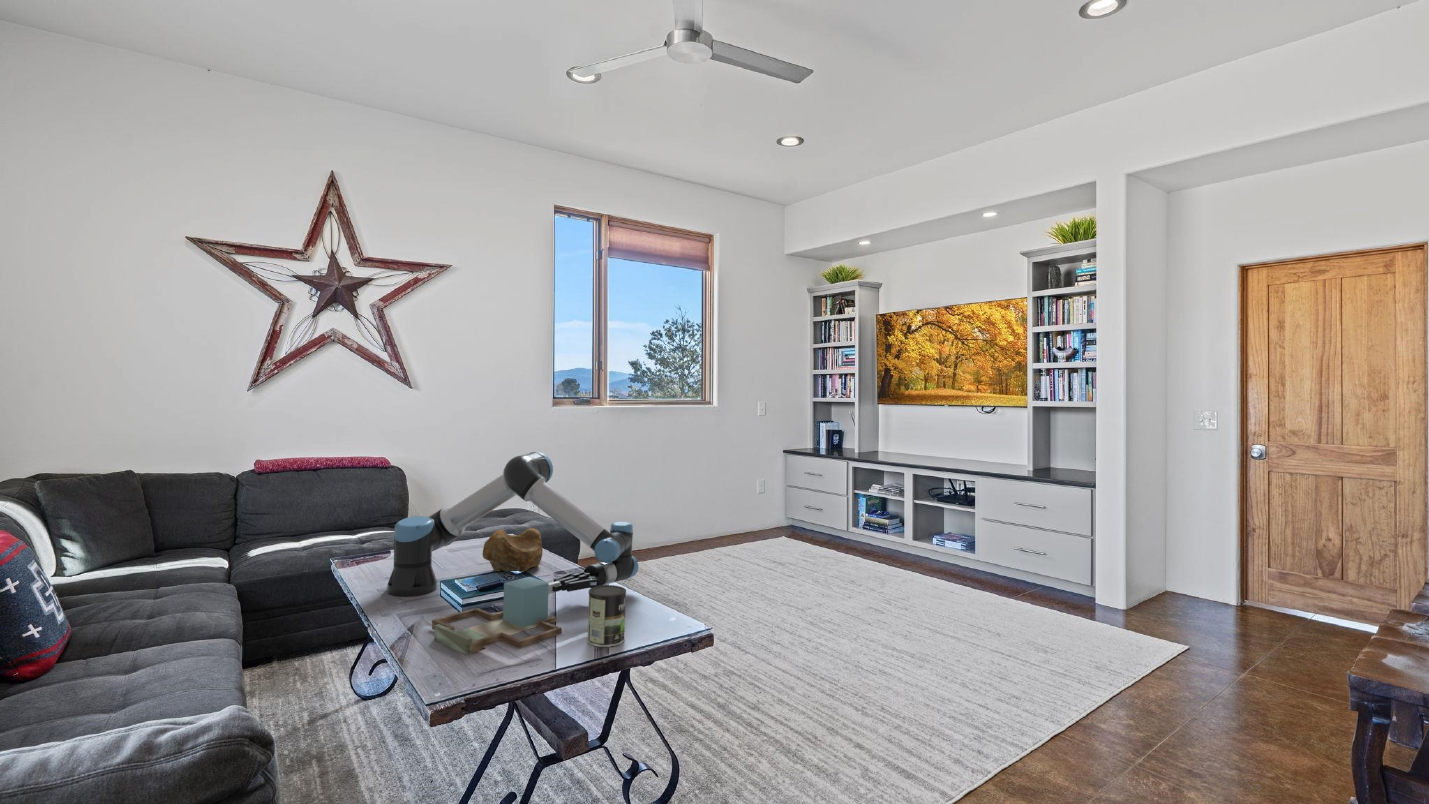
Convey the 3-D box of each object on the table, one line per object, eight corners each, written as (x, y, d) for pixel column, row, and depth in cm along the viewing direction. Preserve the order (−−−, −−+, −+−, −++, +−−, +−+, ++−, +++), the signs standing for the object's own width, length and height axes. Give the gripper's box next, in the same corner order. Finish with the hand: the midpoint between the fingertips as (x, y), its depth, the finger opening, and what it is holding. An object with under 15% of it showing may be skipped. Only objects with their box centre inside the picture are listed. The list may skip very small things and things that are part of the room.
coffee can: (627, 634, 194) (628, 585, 194) (621, 648, 184) (623, 596, 184) (591, 633, 195) (592, 584, 194) (583, 646, 184) (585, 595, 184)
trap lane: (506, 607, 214) (506, 594, 213) (574, 631, 195) (574, 618, 195) (418, 632, 190) (418, 618, 190) (486, 663, 171) (486, 647, 171)
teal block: (528, 612, 206) (529, 576, 206) (547, 619, 201) (548, 582, 201) (503, 620, 199) (504, 583, 199) (522, 627, 194) (523, 589, 194)
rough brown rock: (500, 583, 241) (504, 542, 240) (476, 569, 252) (480, 530, 251) (555, 573, 258) (559, 534, 257) (530, 561, 269) (534, 523, 268)
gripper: (613, 590, 220) (555, 607, 201) (585, 581, 228) (527, 598, 209) (614, 567, 220) (556, 582, 201) (586, 559, 227) (528, 573, 208)
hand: (542, 590), depth 205 cm, fingers closed
